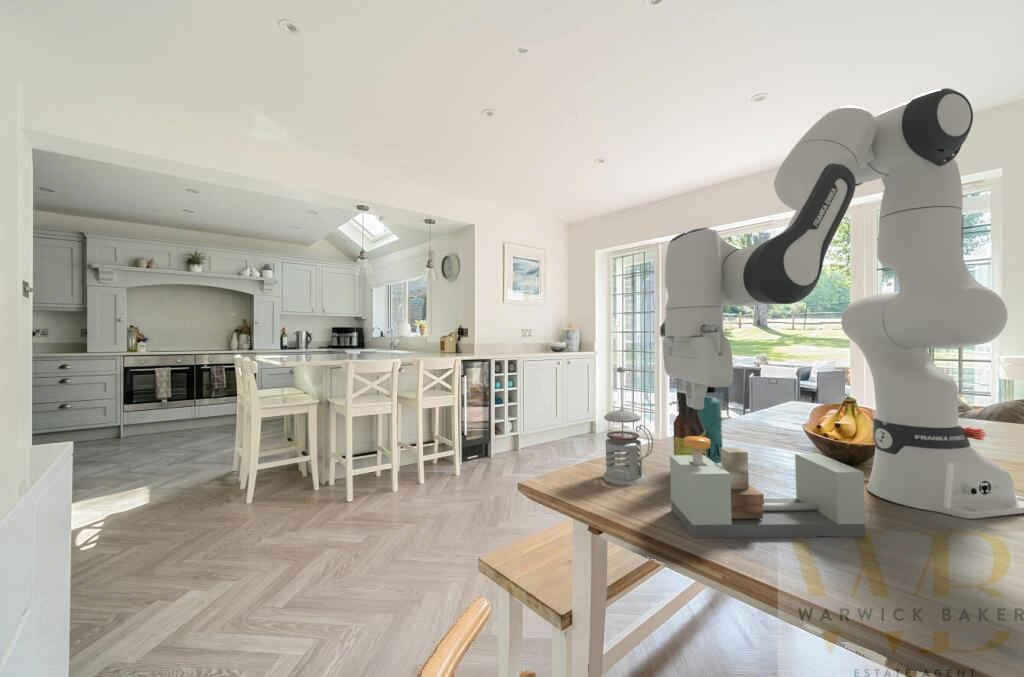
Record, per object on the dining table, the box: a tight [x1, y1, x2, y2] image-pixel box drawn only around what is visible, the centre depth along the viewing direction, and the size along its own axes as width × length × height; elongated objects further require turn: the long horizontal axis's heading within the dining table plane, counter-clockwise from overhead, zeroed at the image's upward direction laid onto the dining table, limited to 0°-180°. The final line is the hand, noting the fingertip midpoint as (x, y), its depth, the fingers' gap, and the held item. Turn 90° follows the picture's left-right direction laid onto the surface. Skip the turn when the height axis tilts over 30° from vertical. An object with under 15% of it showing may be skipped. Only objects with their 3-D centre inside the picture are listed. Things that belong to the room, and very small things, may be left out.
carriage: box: [720, 446, 765, 519], centre depth 69 cm, size 5×8×10 cm, turn 177°
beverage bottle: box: [698, 386, 723, 464], centre depth 98 cm, size 6×7×20 cm
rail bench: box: [669, 452, 867, 539], centre depth 68 cm, size 26×10×10 cm, turn 87°
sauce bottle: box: [672, 390, 706, 456], centre depth 86 cm, size 7×6×20 cm
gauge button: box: [684, 436, 710, 466], centre depth 69 cm, size 4×4×6 cm
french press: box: [602, 366, 654, 486], centre depth 91 cm, size 10×12×25 cm
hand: (695, 407), depth 69 cm, fingers closed
